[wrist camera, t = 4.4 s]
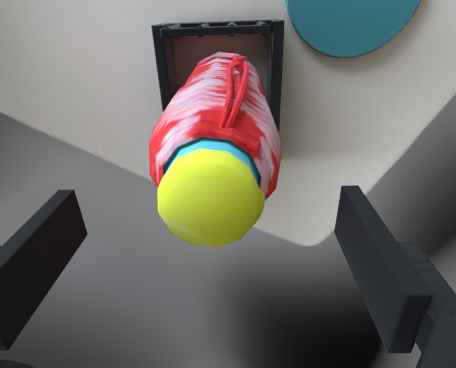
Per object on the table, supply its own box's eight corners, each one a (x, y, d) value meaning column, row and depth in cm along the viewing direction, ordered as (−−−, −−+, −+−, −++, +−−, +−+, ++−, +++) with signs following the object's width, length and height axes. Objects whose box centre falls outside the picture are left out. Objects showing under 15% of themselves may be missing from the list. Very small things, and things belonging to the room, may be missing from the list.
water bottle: (235, 156, 39) (234, 344, 17) (173, 133, 38) (84, 304, 16) (277, 59, 33) (356, 150, 11) (206, 28, 32) (139, 65, 10)
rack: (177, 161, 39) (165, 191, 33) (160, 23, 32) (141, 26, 26) (273, 159, 39) (280, 189, 32) (279, 19, 31) (289, 21, 25)
